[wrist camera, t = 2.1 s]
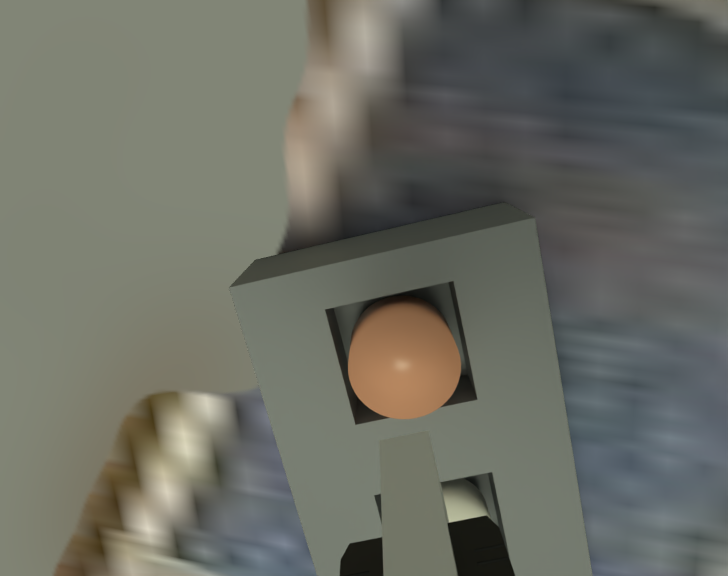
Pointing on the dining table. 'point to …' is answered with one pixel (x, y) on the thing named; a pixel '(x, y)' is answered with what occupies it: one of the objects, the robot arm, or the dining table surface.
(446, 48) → the dining table surface
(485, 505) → the cream button
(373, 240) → the button console
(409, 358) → the terracotta button
